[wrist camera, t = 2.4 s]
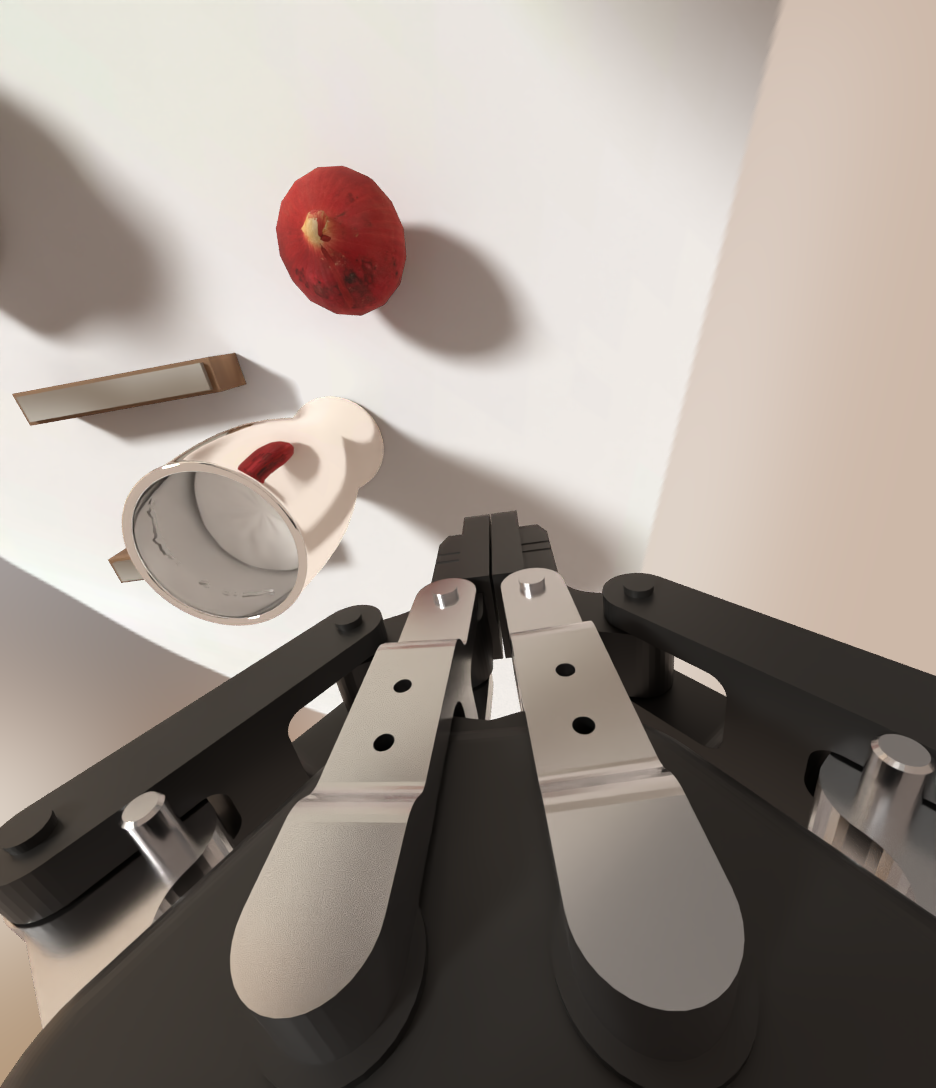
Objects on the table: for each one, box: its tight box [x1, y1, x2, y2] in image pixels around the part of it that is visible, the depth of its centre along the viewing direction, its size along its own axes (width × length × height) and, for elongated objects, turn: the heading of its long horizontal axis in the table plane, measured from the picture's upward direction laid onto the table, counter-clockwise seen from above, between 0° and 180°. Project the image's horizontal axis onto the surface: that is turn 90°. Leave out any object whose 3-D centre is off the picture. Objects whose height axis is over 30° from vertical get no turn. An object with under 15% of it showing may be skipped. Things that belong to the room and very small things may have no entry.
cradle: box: [12, 353, 246, 583], centre depth 29 cm, size 13×12×3 cm
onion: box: [276, 166, 406, 316], centre depth 21 cm, size 6×6×8 cm
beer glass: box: [122, 396, 384, 625], centre depth 23 cm, size 7×7×15 cm
